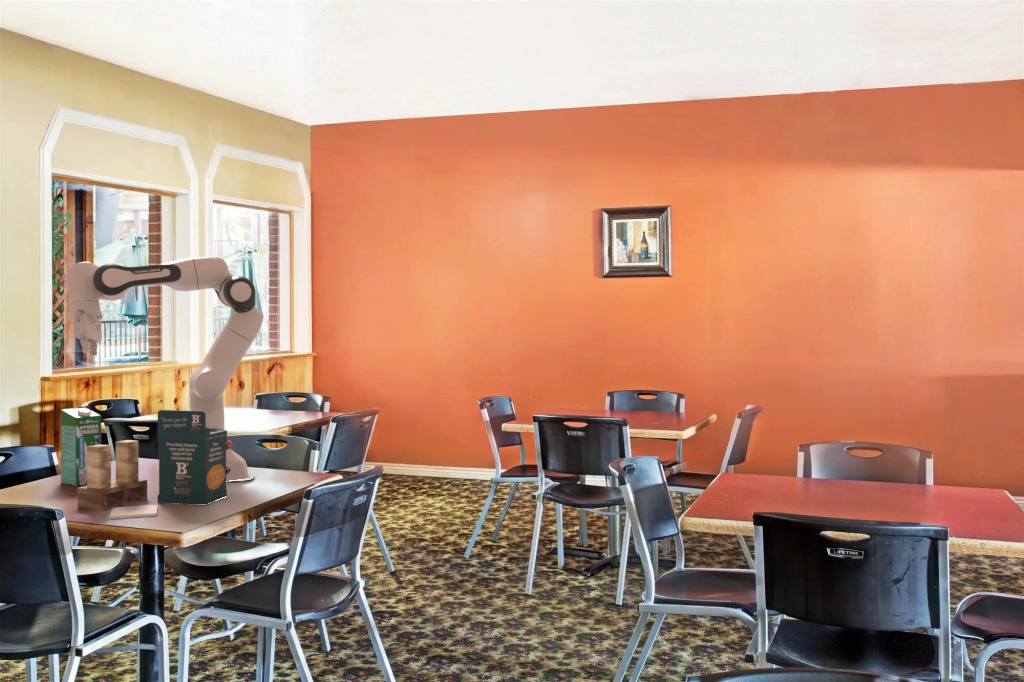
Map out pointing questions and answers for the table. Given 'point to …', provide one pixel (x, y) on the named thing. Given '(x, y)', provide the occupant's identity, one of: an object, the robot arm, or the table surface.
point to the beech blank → (127, 461)
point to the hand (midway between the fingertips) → (90, 354)
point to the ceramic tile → (133, 511)
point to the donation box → (190, 458)
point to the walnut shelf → (111, 494)
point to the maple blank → (98, 466)
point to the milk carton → (77, 442)
